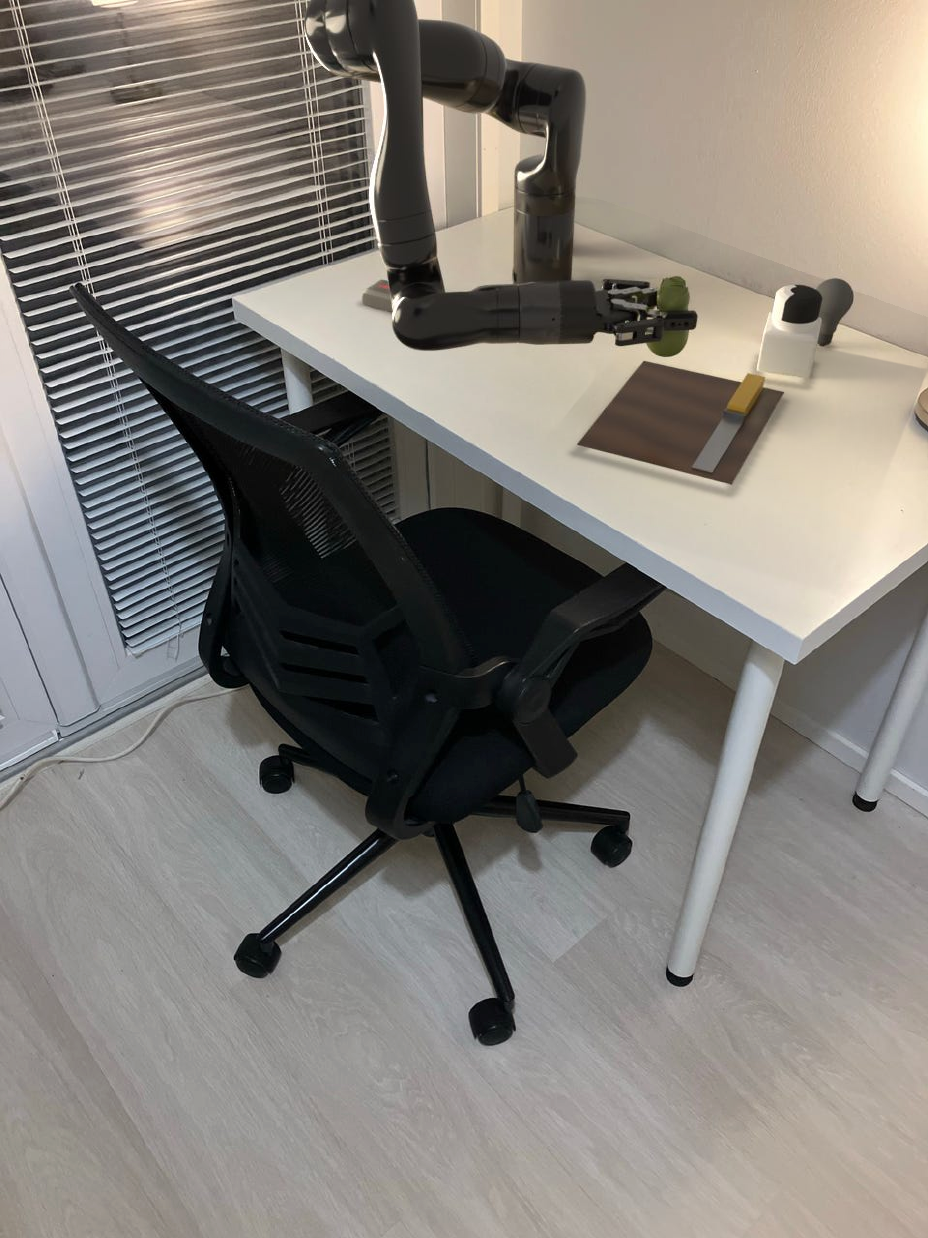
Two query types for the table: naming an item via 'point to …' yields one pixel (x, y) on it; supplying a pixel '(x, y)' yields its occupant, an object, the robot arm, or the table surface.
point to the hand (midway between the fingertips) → (691, 309)
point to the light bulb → (833, 307)
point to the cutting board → (677, 420)
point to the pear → (671, 299)
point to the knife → (730, 423)
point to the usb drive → (378, 296)
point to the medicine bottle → (791, 332)
